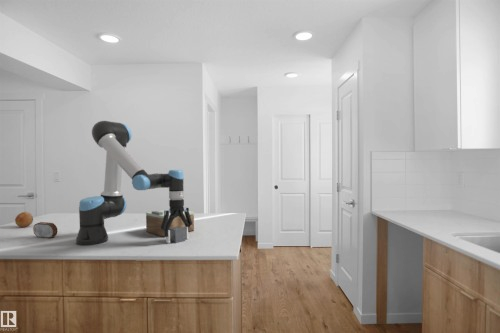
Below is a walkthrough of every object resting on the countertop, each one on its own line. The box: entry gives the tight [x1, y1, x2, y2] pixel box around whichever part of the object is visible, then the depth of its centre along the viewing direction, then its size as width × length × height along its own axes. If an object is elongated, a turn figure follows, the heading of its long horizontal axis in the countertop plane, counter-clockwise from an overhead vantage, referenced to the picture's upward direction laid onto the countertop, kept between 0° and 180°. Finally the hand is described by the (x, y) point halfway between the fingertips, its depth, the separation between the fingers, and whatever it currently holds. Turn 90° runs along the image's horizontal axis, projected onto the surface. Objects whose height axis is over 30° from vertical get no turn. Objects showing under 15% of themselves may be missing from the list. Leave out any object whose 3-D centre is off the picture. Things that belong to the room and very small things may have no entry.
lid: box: [145, 208, 195, 219], centre depth 186 cm, size 20×20×3 cm
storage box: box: [145, 214, 195, 238], centre depth 186 cm, size 20×20×10 cm
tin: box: [32, 221, 58, 239], centre depth 176 cm, size 15×3×8 cm, turn 74°
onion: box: [14, 211, 34, 228], centre depth 205 cm, size 10×10×10 cm
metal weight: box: [169, 226, 186, 244], centre depth 164 cm, size 6×6×7 cm
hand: (177, 240), depth 164 cm, fingers open, 11 cm apart
